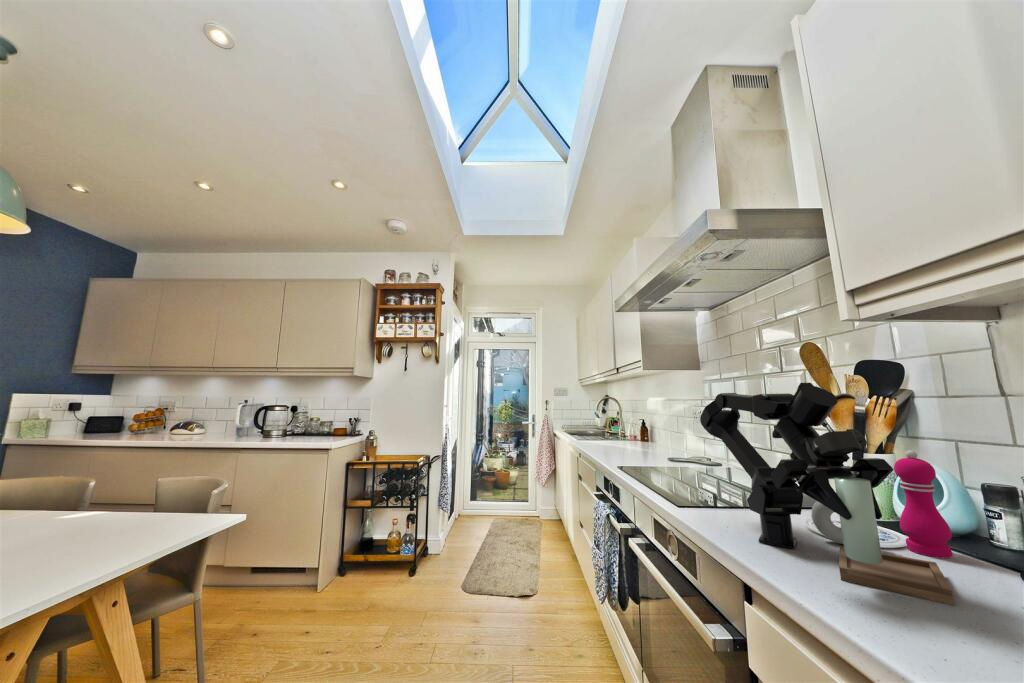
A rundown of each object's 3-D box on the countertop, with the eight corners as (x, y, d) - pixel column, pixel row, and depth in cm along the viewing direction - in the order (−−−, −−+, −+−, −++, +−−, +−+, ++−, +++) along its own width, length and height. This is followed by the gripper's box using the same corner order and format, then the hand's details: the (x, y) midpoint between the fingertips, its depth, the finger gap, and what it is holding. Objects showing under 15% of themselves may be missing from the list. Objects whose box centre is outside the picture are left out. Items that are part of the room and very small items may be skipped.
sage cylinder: (842, 550, 65) (832, 475, 67) (878, 555, 63) (866, 478, 65) (847, 559, 62) (836, 480, 63) (886, 566, 59) (873, 483, 61)
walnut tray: (841, 556, 75) (839, 545, 75) (938, 574, 66) (935, 562, 67) (841, 579, 65) (839, 567, 65) (954, 605, 57) (952, 590, 57)
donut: (875, 547, 79) (867, 497, 80) (877, 552, 76) (868, 500, 78) (814, 537, 85) (808, 491, 87) (814, 541, 82) (807, 494, 84)
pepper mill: (900, 542, 81) (884, 447, 84) (951, 550, 77) (931, 449, 80) (906, 553, 76) (888, 451, 79) (961, 562, 71) (939, 453, 74)
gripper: (773, 414, 70) (831, 491, 57) (874, 413, 70) (954, 489, 57) (752, 452, 76) (799, 528, 64) (844, 451, 76) (910, 527, 64)
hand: (864, 518), depth 62 cm, fingers closed on sage cylinder, 5 cm apart
